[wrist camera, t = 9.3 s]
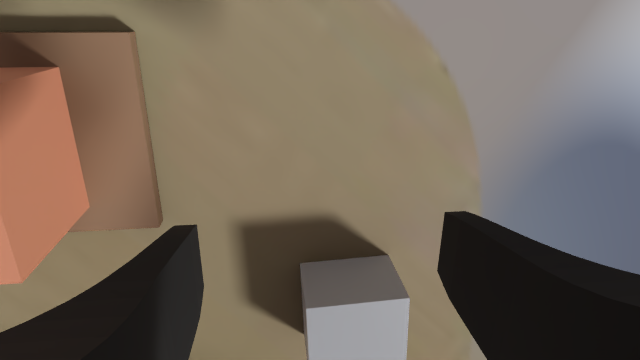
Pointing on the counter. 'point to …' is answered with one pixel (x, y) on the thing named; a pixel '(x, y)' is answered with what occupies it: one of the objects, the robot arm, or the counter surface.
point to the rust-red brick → (35, 169)
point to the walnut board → (100, 120)
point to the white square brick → (354, 309)
